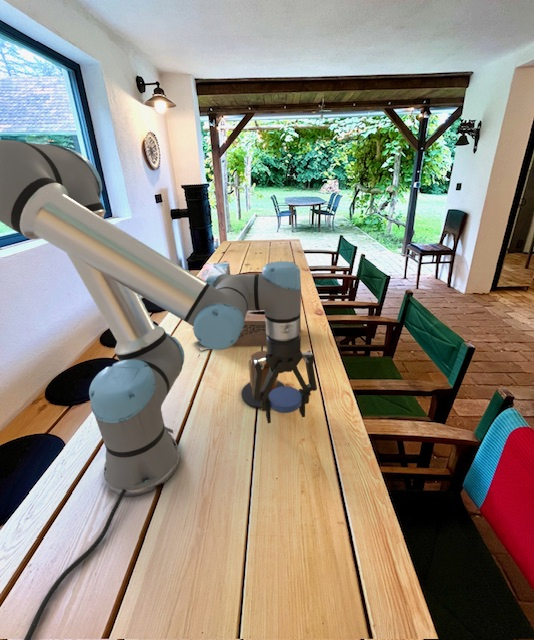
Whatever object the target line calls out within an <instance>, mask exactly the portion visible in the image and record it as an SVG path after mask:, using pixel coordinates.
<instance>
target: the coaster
mask: <svg viewBox="0 0 534 640" xmlns="http://www.w3.org/2000/svg"><path fill="white" fill-rule="evenodd" d="M282 386H286V385H285V384H283V383H282V382H281V381H280V380H277V387H282ZM240 395H241V399H242V401H243V402H244V403H245V405H248V406H250V407H252V408H255V409H261V410H262V408H261V400H254V398H253V396H252V395H251V387H250V382H247V384H245V385H244V386H243V388H242V389H241V393H240ZM270 409H272V408H271V407H270Z"/></svg>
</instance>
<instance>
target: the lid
mask: <svg viewBox="0 0 534 640" xmlns="http://www.w3.org/2000/svg"><path fill="white" fill-rule="evenodd" d="M268 397H269V400H270V407H271V408H270V409H272V410H273V411H274V412H276V413H280V414H290V413H293V412H296V411H298V410H299V408H300V406H301V403H302V396H301V393H300V392H299V389H297V388H295V387H292V386H289V385H288V386H286V385H285V386H282V387H277V388H275V389H273V390H272V391H271V392H270V393H269V396H268Z"/></svg>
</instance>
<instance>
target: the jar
mask: <svg viewBox="0 0 534 640" xmlns="http://www.w3.org/2000/svg"><path fill="white" fill-rule="evenodd" d="M266 354H267V350H259V351H256V352H254V353H252V354H251V355H250V359H249V360H248V370H249V373H248V374H249V383H250V387H251V395H252V396H253V394H252V390H253V382H254V373H255V364H254V361H253V360H254V359H255V358H258V359H262V358H265V356H266ZM269 368H270V366H269V365H268V364H267V363H266V364H265V365H264V369H262V379H261V386H260V391H261V389H262V387H263V384H264V382H265V379H266V377H267V375H268V372H269ZM277 381H278V377H277V378H276V379H275V381H274V384H273V386H272V388H271V391H272V390H273V389H275V388H277ZM271 391H270V392H271ZM268 396H269V395H268ZM258 400H259V399H258Z"/></svg>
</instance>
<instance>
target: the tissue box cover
mask: <svg viewBox="0 0 534 640" xmlns="http://www.w3.org/2000/svg"><path fill="white" fill-rule="evenodd" d="M266 336H267V334H266V321H265V310H260V311H247V314H246V317H245V321H244V327H243V330H242V332H241V333H240V335H239V337H238V340H237V341H236V342H235V343H234V344H233V345H232V346H231V347H267V343H266Z"/></svg>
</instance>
